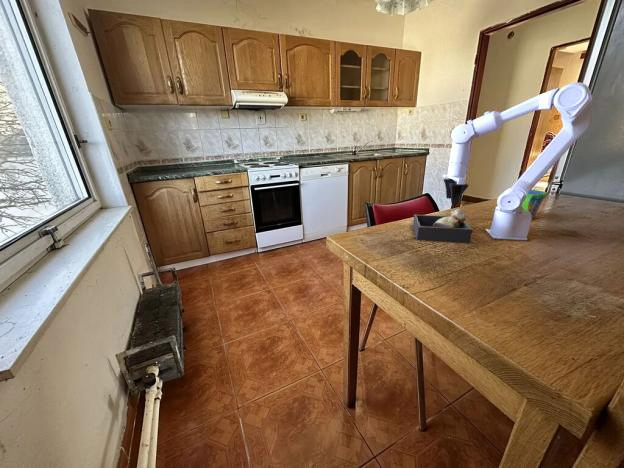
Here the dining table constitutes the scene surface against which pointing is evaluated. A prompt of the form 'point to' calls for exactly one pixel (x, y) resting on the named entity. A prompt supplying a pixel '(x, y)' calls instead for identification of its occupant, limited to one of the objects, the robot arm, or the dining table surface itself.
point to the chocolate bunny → (451, 220)
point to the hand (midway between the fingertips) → (452, 200)
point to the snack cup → (533, 201)
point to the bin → (440, 230)
